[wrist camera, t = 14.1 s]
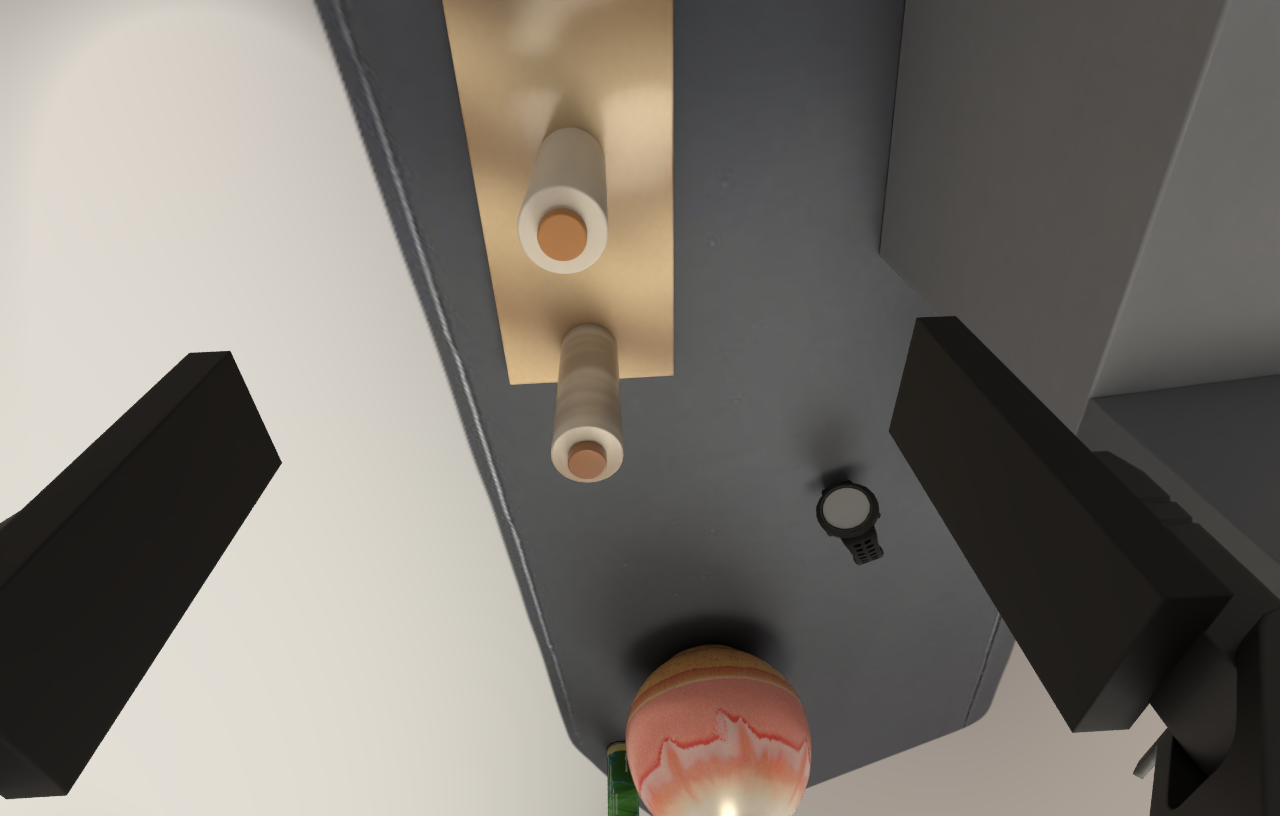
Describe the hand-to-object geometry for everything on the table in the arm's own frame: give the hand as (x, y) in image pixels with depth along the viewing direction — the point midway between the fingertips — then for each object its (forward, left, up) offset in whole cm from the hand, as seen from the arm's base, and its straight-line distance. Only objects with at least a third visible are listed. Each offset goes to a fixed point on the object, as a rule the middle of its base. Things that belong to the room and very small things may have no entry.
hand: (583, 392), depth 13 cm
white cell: (0, -1, -19) cm, 19 cm away
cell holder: (0, -1, -20) cm, 20 cm away
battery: (+48, +20, -20) cm, 56 cm away
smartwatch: (+14, +22, -20) cm, 33 cm away
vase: (+34, +22, -20) cm, 46 cm away
